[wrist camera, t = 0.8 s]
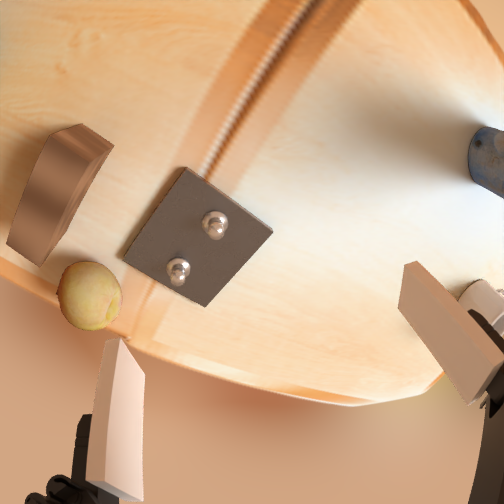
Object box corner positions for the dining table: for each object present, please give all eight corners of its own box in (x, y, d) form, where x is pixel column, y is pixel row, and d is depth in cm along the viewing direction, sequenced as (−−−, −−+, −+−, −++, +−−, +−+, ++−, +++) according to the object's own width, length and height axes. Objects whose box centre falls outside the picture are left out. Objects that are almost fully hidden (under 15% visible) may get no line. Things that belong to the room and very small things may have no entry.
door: (66, 231, 31) (39, 267, 25) (37, 212, 30) (5, 244, 23) (114, 145, 28) (89, 162, 21) (82, 123, 26) (49, 135, 19)
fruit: (107, 310, 38) (95, 353, 31) (59, 273, 34) (37, 313, 27) (140, 277, 36) (131, 320, 29) (89, 235, 32) (66, 272, 25)
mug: (450, 328, 54) (475, 359, 46) (453, 294, 49) (484, 327, 40) (491, 299, 54) (517, 325, 45) (497, 264, 48) (527, 290, 40)
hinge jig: (124, 255, 34) (118, 272, 31) (186, 166, 31) (185, 175, 28) (204, 302, 39) (206, 320, 36) (271, 228, 36) (278, 242, 33)
